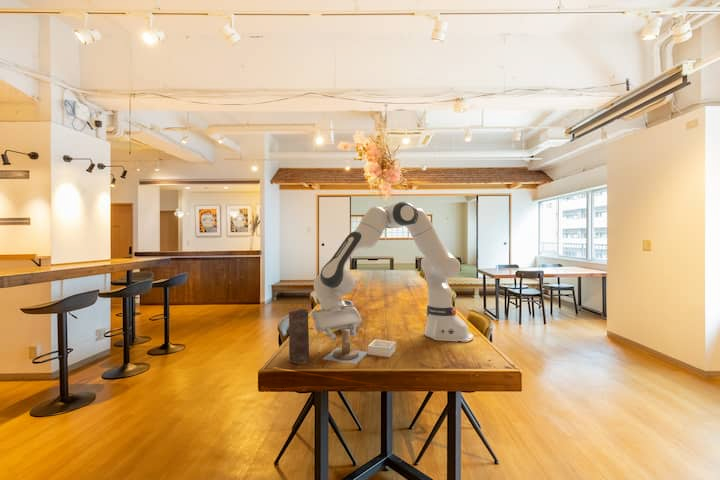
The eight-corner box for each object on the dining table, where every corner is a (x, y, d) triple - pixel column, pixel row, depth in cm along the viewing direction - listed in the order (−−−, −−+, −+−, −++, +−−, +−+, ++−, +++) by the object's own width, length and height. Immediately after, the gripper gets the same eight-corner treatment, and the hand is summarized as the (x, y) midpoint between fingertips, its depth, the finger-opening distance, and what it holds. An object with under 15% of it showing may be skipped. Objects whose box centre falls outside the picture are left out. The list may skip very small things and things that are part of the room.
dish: (395, 351, 142) (395, 341, 142) (389, 358, 133) (389, 348, 133) (375, 348, 145) (375, 339, 145) (367, 355, 137) (367, 345, 137)
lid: (362, 352, 138) (362, 328, 138) (353, 361, 129) (353, 334, 129) (339, 349, 142) (339, 325, 141) (328, 358, 132) (328, 332, 132)
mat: (368, 353, 139) (368, 352, 139) (355, 365, 126) (355, 363, 126) (337, 349, 144) (337, 347, 144) (321, 360, 131) (321, 358, 131)
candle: (291, 367, 124) (291, 312, 124) (286, 361, 130) (286, 308, 130) (312, 364, 127) (312, 310, 127) (305, 357, 134) (305, 306, 134)
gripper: (312, 306, 136) (324, 337, 128) (355, 301, 148) (368, 329, 139) (307, 315, 140) (318, 345, 132) (350, 309, 151) (362, 337, 143)
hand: (344, 337), depth 136 cm, fingers open, 8 cm apart
